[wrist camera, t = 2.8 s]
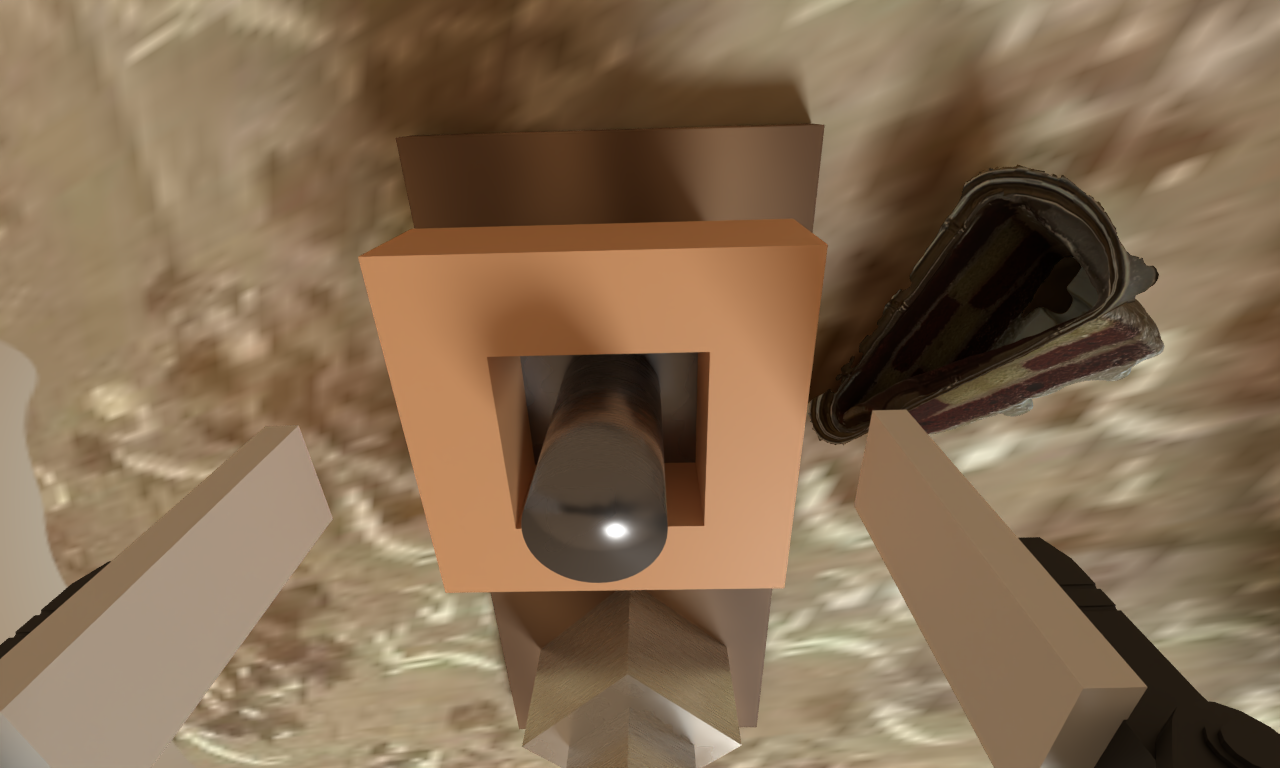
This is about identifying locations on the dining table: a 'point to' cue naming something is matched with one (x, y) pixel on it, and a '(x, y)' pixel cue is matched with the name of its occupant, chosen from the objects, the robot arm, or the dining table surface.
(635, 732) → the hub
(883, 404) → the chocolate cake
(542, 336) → the collar
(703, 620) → the board
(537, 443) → the stand
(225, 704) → the dining table surface
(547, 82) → the dining table surface
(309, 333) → the dining table surface
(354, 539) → the dining table surface
